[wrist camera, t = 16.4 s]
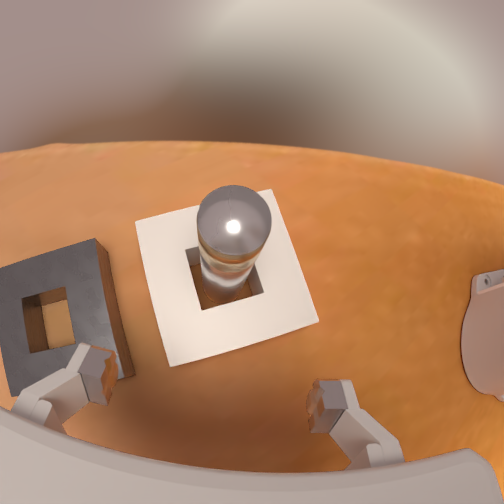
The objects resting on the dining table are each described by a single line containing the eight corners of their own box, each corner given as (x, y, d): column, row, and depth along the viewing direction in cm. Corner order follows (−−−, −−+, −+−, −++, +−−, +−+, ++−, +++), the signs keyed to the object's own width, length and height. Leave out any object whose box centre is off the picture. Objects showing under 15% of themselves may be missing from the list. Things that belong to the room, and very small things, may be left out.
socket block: (107, 252, 29) (94, 238, 25) (135, 374, 26) (124, 377, 22) (12, 280, 26) (-8, 270, 22) (32, 393, 23) (11, 396, 19)
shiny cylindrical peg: (235, 261, 30) (258, 177, 16) (247, 298, 29) (283, 243, 15) (197, 271, 29) (188, 193, 15) (208, 309, 28) (207, 263, 14)
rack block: (262, 212, 32) (271, 188, 27) (301, 327, 29) (319, 321, 24) (145, 241, 30) (134, 221, 25) (177, 364, 26) (170, 367, 22)
